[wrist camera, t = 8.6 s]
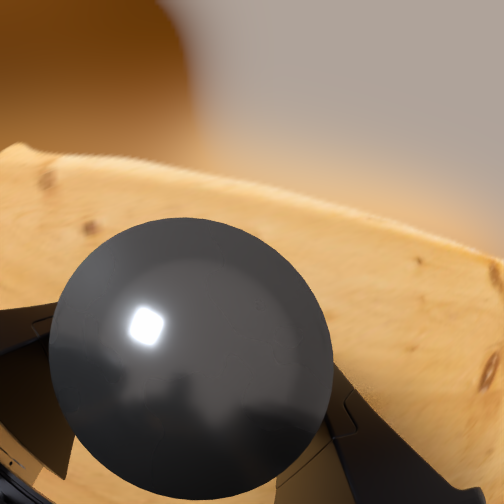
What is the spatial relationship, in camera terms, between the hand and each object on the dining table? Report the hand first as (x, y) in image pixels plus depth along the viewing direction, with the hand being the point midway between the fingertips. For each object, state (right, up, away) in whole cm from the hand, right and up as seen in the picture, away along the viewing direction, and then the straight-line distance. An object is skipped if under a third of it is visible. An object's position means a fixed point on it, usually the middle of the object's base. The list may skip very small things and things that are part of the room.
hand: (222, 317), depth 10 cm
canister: (0, -3, +6) cm, 7 cm away
